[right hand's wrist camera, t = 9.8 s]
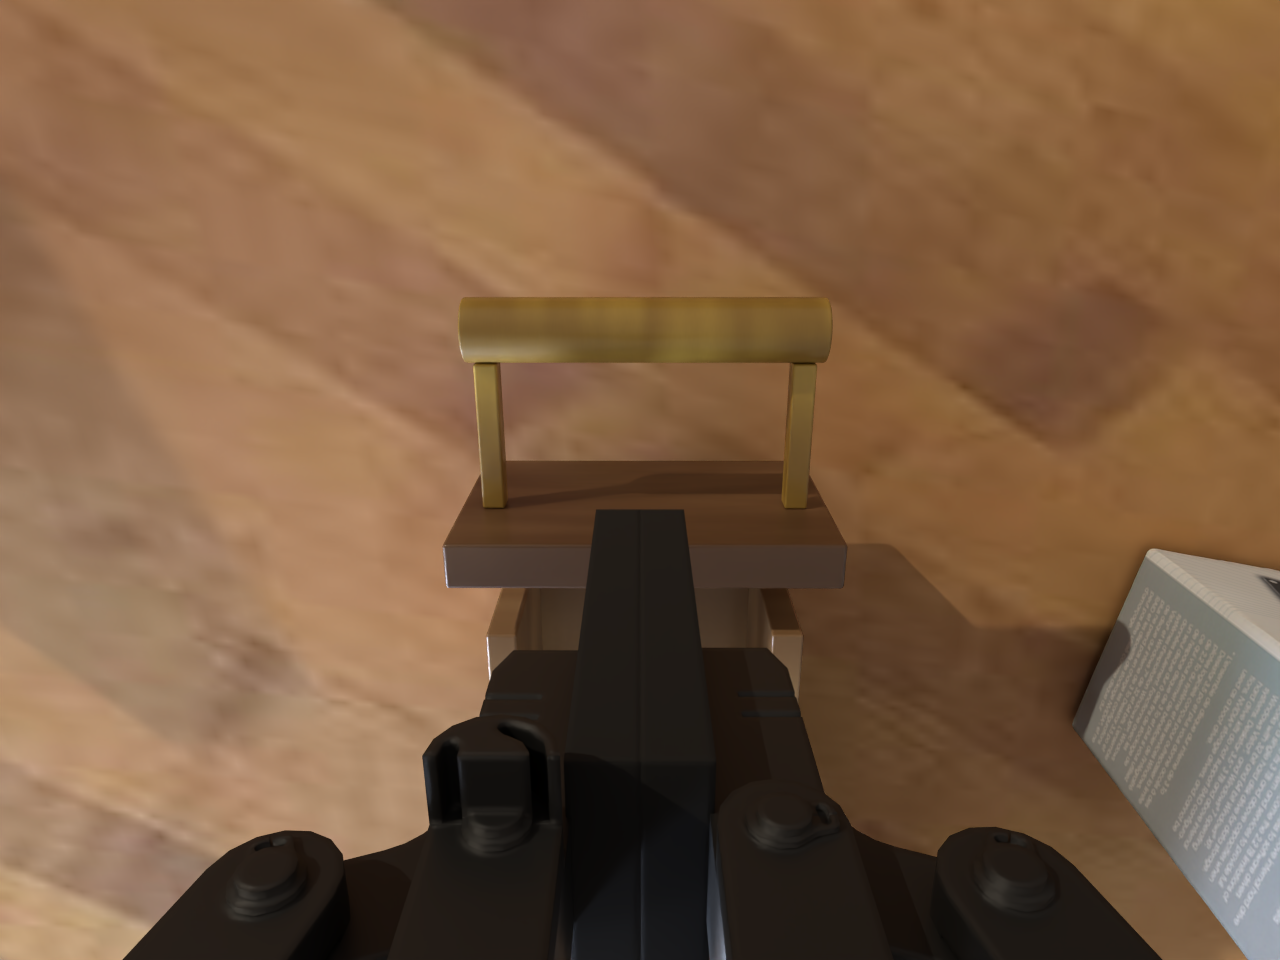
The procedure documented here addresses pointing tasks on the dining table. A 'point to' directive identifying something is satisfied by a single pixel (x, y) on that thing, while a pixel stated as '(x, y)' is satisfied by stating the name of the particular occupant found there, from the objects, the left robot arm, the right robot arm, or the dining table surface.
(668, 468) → the drawer
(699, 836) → the right robot arm
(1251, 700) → the hard drive box
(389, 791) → the dining table surface
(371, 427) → the dining table surface
